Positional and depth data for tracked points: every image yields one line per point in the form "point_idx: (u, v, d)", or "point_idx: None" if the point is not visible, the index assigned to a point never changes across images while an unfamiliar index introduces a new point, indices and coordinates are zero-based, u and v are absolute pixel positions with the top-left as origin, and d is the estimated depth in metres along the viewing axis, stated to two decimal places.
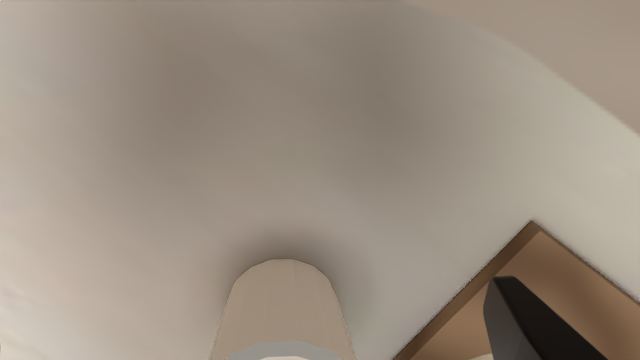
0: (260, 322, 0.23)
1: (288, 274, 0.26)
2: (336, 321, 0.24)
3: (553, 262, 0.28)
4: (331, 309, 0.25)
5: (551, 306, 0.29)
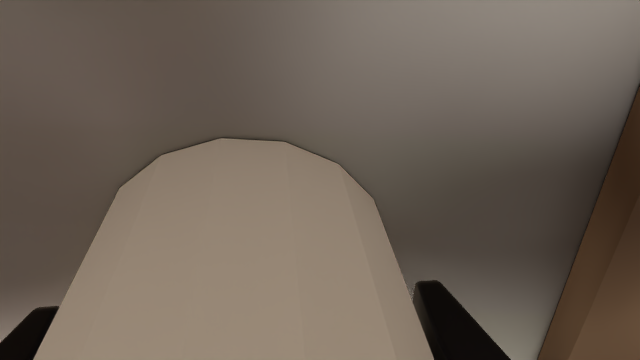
0: None
1: (129, 217, 0.09)
2: (266, 317, 0.06)
3: None
4: (253, 269, 0.07)
5: None
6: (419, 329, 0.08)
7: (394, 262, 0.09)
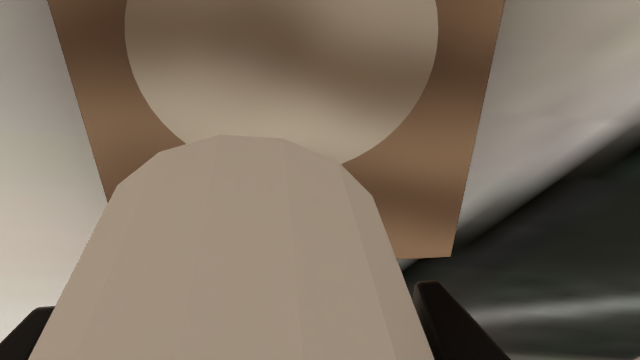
0: None
1: (126, 214, 0.08)
2: (264, 313, 0.06)
3: None
4: (251, 265, 0.07)
5: None
6: (418, 326, 0.08)
7: (393, 259, 0.09)
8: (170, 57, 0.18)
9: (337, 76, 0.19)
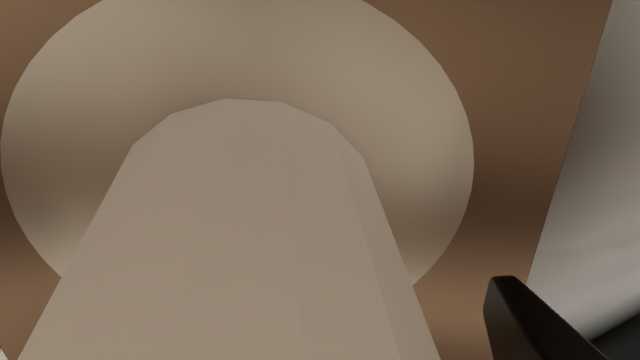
0: None
1: (142, 164, 0.10)
2: (262, 233, 0.07)
3: None
4: (251, 198, 0.08)
5: None
6: (399, 260, 0.09)
7: (379, 207, 0.10)
8: (79, 214, 0.12)
9: None
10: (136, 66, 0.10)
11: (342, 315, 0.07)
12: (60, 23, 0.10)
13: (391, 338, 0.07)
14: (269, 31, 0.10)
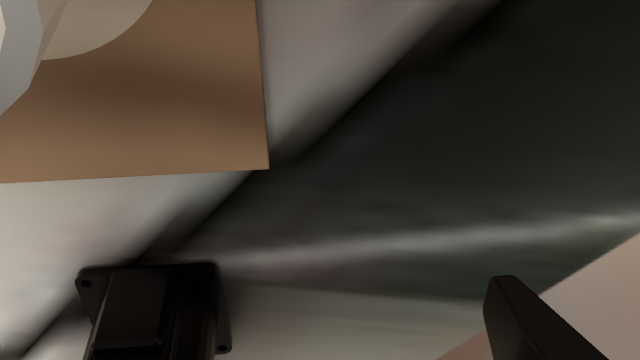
0: None
1: None
2: None
3: None
4: None
5: None
6: None
7: None
8: None
9: None
10: None
11: None
12: None
13: None
14: None
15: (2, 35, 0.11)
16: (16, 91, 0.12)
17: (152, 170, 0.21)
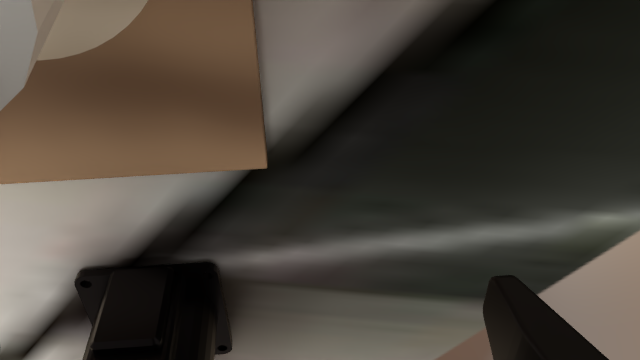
0: None
1: None
2: None
3: None
4: None
5: None
6: None
7: None
8: None
9: None
10: None
11: None
12: None
13: None
14: None
15: None
16: (12, 90, 0.12)
17: (150, 170, 0.21)
